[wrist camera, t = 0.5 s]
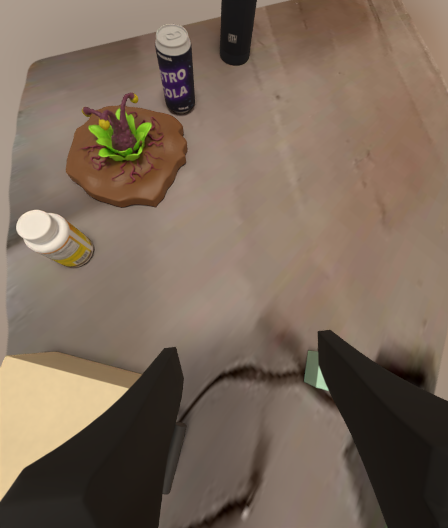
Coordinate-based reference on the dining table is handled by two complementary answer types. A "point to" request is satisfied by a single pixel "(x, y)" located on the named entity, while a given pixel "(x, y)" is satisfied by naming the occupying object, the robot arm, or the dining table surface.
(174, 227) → the dining table surface
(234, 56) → the black water bottle
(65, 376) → the beige box
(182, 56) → the beverage can
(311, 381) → the sage green cube
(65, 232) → the supplement bottle
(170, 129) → the plant
